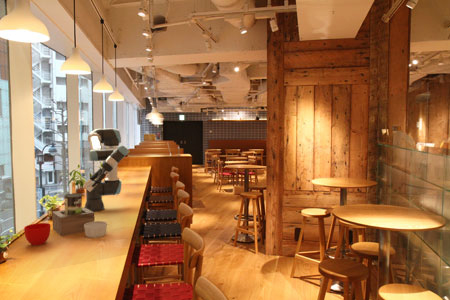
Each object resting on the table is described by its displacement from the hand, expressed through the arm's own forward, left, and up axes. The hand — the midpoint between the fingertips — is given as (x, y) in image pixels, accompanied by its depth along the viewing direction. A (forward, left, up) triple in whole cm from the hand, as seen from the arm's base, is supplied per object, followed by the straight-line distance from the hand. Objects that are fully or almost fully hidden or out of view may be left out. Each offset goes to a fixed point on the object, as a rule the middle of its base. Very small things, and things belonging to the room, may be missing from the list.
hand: (86, 189), depth 228 cm
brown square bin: (0, -8, -25) cm, 27 cm away
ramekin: (+21, +1, -25) cm, 33 cm away
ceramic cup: (+18, -29, -25) cm, 43 cm away
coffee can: (0, -8, -17) cm, 19 cm away
